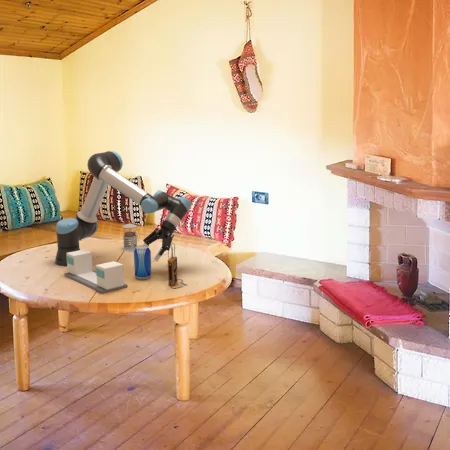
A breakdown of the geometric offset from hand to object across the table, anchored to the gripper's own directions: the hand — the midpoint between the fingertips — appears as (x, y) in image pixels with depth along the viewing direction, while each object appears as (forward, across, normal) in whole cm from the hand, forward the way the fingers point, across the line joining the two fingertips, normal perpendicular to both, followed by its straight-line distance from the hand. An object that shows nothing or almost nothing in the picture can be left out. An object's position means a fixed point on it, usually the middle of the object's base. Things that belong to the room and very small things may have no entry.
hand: (147, 257), depth 328 cm
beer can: (+9, +1, -6) cm, 11 cm away
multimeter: (+4, -21, -11) cm, 24 cm away
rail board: (+24, +12, +10) cm, 28 cm away
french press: (-10, +52, -24) cm, 58 cm away
